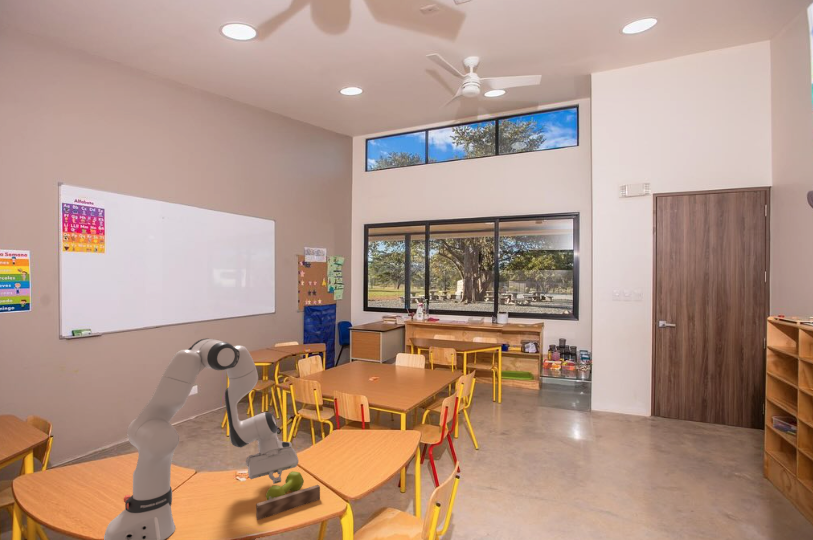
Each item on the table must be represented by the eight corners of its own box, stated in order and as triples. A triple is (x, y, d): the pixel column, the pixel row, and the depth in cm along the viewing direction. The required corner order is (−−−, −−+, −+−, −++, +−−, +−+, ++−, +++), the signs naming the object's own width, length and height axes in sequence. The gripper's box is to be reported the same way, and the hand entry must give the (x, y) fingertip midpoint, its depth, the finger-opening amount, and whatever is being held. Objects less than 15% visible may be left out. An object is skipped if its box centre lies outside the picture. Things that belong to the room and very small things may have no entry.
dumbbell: (281, 509, 156) (281, 490, 156) (263, 506, 159) (263, 487, 159) (305, 489, 172) (305, 471, 172) (289, 486, 174) (289, 469, 174)
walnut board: (257, 520, 149) (257, 506, 149) (256, 517, 151) (256, 503, 151) (320, 499, 163) (319, 486, 163) (318, 497, 164) (317, 484, 165)
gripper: (246, 452, 169) (252, 486, 161) (294, 441, 181) (303, 472, 172) (243, 460, 172) (249, 493, 164) (291, 448, 184) (299, 479, 176)
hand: (277, 482), depth 168 cm, fingers closed
